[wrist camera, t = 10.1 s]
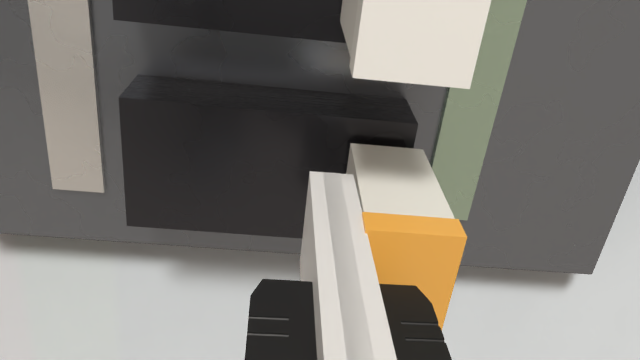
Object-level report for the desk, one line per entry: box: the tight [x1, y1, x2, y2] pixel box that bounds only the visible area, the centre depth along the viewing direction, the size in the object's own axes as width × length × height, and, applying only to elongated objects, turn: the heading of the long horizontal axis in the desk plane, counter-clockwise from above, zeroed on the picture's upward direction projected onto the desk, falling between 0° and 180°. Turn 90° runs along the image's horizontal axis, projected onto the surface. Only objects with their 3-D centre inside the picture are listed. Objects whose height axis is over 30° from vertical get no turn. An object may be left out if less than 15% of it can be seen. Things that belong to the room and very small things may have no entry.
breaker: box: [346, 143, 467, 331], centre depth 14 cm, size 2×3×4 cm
